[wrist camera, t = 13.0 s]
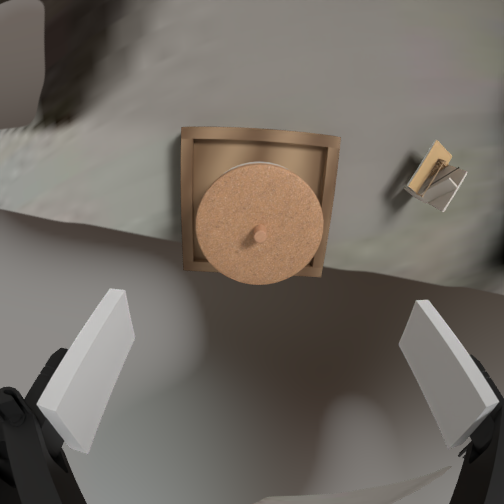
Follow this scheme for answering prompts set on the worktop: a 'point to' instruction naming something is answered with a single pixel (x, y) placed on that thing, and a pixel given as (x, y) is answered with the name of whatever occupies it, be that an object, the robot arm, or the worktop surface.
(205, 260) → the wooden tray
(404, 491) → the worktop surface
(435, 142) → the architectural model
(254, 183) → the lidded jar
